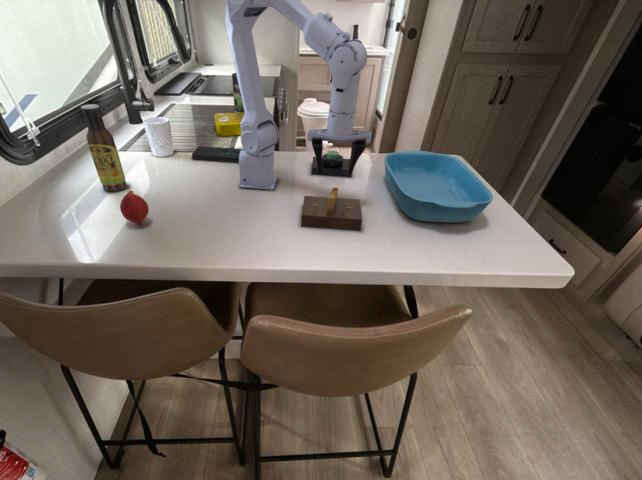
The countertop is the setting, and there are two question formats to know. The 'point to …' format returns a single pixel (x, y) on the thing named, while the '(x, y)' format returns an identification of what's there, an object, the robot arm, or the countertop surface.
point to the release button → (332, 155)
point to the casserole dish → (435, 187)
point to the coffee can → (237, 95)
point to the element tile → (228, 123)
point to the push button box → (332, 167)
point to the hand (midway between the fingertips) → (334, 172)
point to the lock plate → (331, 213)
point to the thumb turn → (332, 199)
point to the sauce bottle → (103, 150)
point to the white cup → (159, 136)
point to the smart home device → (216, 154)
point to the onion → (134, 207)
